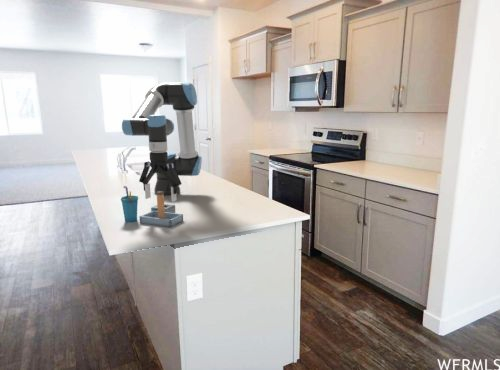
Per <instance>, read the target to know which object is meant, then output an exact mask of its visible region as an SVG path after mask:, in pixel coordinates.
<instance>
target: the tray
mask: <svg viewBox="0 0 500 370" xmlns="http://www.w3.org/2000/svg"><path fill="white" fill-rule="evenodd" d="M138 217H139V223H140V224H144V225H145V224H146V225H151V224H152V225H151V226H158V225H159V226H158V227H167V228H172V227H174V226H177V224H180V223H181V222H184V214H183V213H176V212H175V213H169V212H165V219H160V218H158V211H151V210H150V212H147V213H143V214H141V215H139V216H138Z"/></svg>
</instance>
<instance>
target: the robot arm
mask: <svg viewBox="0 0 500 370" xmlns="http://www.w3.org/2000/svg"><path fill="white" fill-rule="evenodd" d="M197 104H198V98H197V91H196V88H195V85H194V84H193V83H191V82H184V81H183V82H161V83H160V84H157V85H155V86H153V87H151V88H150V89H149V90H148V92H147V93H146V94H145V99H144V100H143V102H142V103H141V105H140V106H139V108H138V109H137V110H136V112H135V113H134V114H133V116H132V117H131V118H129V117H128V118H124V119H122V122H121V130H122V133H123V134H124V135H125V136H132V137H133V136H138V137H139V136H145V137H147V136H148V147H149V160H150V161H144V164H143V169H142V172H141V175H140V177H139V181H138V182H139V183H142V184H143V191H144V193H145V197H144V199H146V200H147V199H151V183H150V181H151V179H152V178H153V176H154V174H156V183H155V185H154V192H153V193H154V194H155V195H157V192H159V191H163V192H164V196H170V197H171V203H172V202H173V203H174V202H176V201H178V200H177V195H178V194H180V193H181V188H180V186H181V185H182V181H181V179H180V177H181V176H182V177H184V176H185V177H187V176H188V177H189V176H190V177H193V176H194V177H196V176H199V175H200V173H201V168H202V162H203V160H202V156H200V155H199V151H197V150H196V145H195V144H196V142H195V132H194V122H193V120H194V119H193V111H194V109H195V106H196V105H197ZM170 105H171V106H172V109H173V111H175V115H176V123H177V131H178V133H177V134H178V140H179V141H178V142H179V153H178V154H176V153H168V152H167V151H168V140H167V136H170V135H171V134H173V132H174V131H175V124H174V122H173V121H172V120H171V119H170V118H167V117H166V115H165V114H156V112H157V111H158V109H159V108H161V107H162V106H170ZM150 168H151V169H150ZM179 176H180V177H179Z"/></svg>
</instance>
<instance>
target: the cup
mask: <svg viewBox="0 0 500 370" xmlns="http://www.w3.org/2000/svg"><path fill="white" fill-rule="evenodd" d="M123 188H124V189H125V192H126V193H125V194H126V195H124V196H122V197H120V201H121V205H122V211H123V217H124V222H125V221H126V223H133V222H137V220H138V200H139V196H138V195H132V192H131V191H129V189H128V186H127V185H125V186H124V185H123Z"/></svg>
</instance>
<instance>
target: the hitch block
mask: <svg viewBox="0 0 500 370" xmlns="http://www.w3.org/2000/svg"><path fill="white" fill-rule="evenodd" d="M164 208H165V212H169V213H176V204H167V203H164ZM151 211H158V208H157V205H154V206H151V207H150V212H151Z"/></svg>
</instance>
